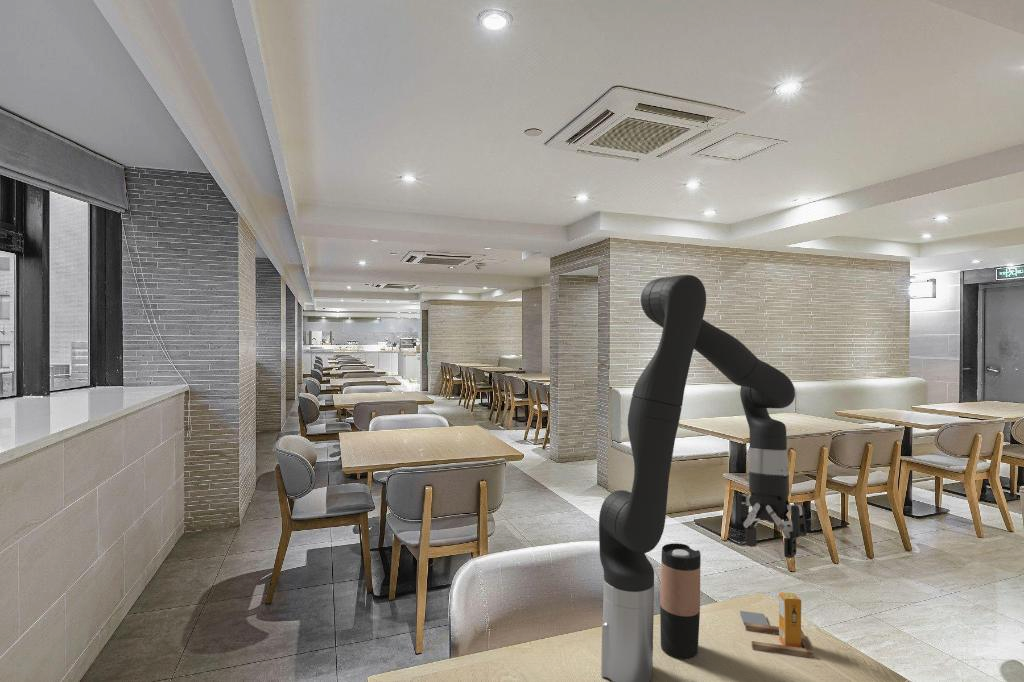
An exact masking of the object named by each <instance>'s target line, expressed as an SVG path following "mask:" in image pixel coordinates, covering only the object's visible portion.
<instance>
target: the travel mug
mask: <svg viewBox="0 0 1024 682" xmlns="http://www.w3.org/2000/svg"><path fill="white" fill-rule="evenodd" d="M660 559H661V560H660V561H661V568H660V592H659V593H660V594H659V595H660V596H659V598H660V599H659V603H660V605H659V606H660V607H659V610H660V611H659V614H660V615H659V618H660V621H659V622H660V624H659V625H660V629H659V630H660V648H661V650H662V651H663V652H664V653H665V655H667V656H669V657H671V658H674V659H678V660H692V659H693V658H695V657H696V656H697V655H698V652H699V651H698V650H699V649H698V648H699V634H700V620H701V619H700V618H701V616H700V615H701V614H700V613H701V561H702V560H701V559H702V558H701V551H700V550H699V549H697V550H695V549H692V548H691V547H690V546H689V545H687V544H685V543H675V542H674V543H667V544H664V545H663V546H662V548H661V558H660Z"/></svg>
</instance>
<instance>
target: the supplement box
mask: <svg viewBox="0 0 1024 682" xmlns="http://www.w3.org/2000/svg"><path fill="white" fill-rule="evenodd" d="M778 627H779V634H778V636H779V637H778V638H779V639H778V640H779V642H781V645H784V646H792V647H799V648H802V646H801V630H802V599H801V598H800V597H798V595H797V594H795V593H794V592H778Z"/></svg>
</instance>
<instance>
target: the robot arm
mask: <svg viewBox="0 0 1024 682" xmlns="http://www.w3.org/2000/svg"><path fill="white" fill-rule="evenodd" d="M640 303H641V308H642V311H643V312H644V315H645V316H646V317H647V318H648V319H650V321H652V322H653V323H655V324H656V325H658V326H660V327H661V328H662V332H661V337H660V339H659V343H658V346H657V348H656V350H655V353H654V354H653V356H652V357H651V359H650V361H649V362H648V364H647V365H646V367H645V368H644V370H642V372H641V374H640V375H639V377H638V379H637V381H636V383H635V384H634V387H633V391H632V395H631V398H630V404H629V409H628V414H627V431H628V437H629V443H630V447H631V454H632V458H633V465H634V468H633V469H634V472H633V474H634V475H633V481H632V487H631V491H628V490H622V489H621V490H620V489H619V490H615V491H612V492H611V493H610V494H609V495H607V496H606V497H605V499H604V501H603V503H602V504H601V507H600V511H599V516H598V539H599V540H598V542H599V543H598V544H599V559H600V563H601V566H602V570H603V600H602V601H603V606H602V607H603V608H602V610H603V611H602V613H603V614H602V623H601V661H600V663H601V664H600V665H601V667H600V675H601V678H607V679H609V680H611V682H650V681H651V680H652V678H653V666H654V665H653V664H654V661H653V660H654V659H653V658H654V611H655V610H654V609H655V607H654V604H655V569H654V567H653V564H652V563H651V562H650V560H649V559H648V557H647V555H646V554H647V553H649V552H652V551H653V550H654V549H655V548H656V547H657V546H658V544H659V543H660V540H661V538H662V536H663V533H664V530H665V524H666V517H667V516H666V515H667V507H668V506H667V505H668V491H669V483H670V472H671V468H672V467H671V466H672V461H673V454H674V448H675V442H676V437H677V432H678V429H679V428H678V427H679V425H680V419H681V414H682V407H683V401H684V397H685V396H684V395H685V388H686V385H687V380H688V375H689V372H690V370H689V369H690V367H691V366H690V365H691V362H692V361H691V360H692V357H693V353H694V350H695V351H696V352H698V353H699V354H700V355H701V356H702V357H704V358H705V359H706V360H707V361H708V362H709V363H711V365H713V366H714V367H715V368H716V369H717V370H718V371H719V372H720V373H722V374H723V375H724V376H725V377H726V378H727V379H728V380H729V381H731V382H732V384H735V385H737V386H739V387H740V392H739V395H740V402H741V404H742V408H743V411H744V415H745V418H746V422H747V425H748V428H749V429H748V430H749V452H748V491H749V492H750V495H749V494H747V493H744V494H743V493H742V494H738V495H737V496H736V517H735V518H736V519H735V520H736V522H737V523H738V524H741V525H742V526H743V527H744V534H745V535H744V537H745V539H744V540H745V543H746V545H747V547H750V548H752V547H753V548H754V547H756V546H757V544H758V543H757V527H756V526H757V525H758V524H759V522H760V521H767V522H769V523H773V524H774V523H775V525H776V526H777V527H778V529H780V531H781V532H782V534H783V535H784V538H783V546H784V547H783V549H784V550H783V551H784V554H783V555H784V557H785V558H787V559H792V558H794V557H795V556H796V555H797V539H798V538H802V537H807V523H806V512H805V511H806V510H805V506H804V505H803V504H790V502H789V495H790V474H789V471H790V468H789V464H790V463H789V456H788V441H787V440H788V439H787V427H786V424H785V423H784V422H783V421H780V420H777V419H773V418H772V417H771V416H770V414H769V411H768V409H784V408H787V407H789V406H790V405H791V404H792V403H793V402H794V400H795V399H796V389H795V386H794V383H793V382H792V380H791V379H790V378H789V377H788V376H787V375H786V373H784V372H782V370H779V369H778V368H777V367H773V366H772V365H770V364H769V363H767V362H765V361H763V360H760V359H759V358H758V357H757V356H756V355H755V354H754V353H753V352H752V351H751V350H750V349H749V348H748V347H747V346H746V345H745V344H744V343H743V342H741V341H740V340H739V339H738V338H736V337H735V336H734V335H731V334H730V333H728V332H725V331H724V330H722V329H720V328H719V327H717V326H715V325H713V324H711V323H710V322H709V321H706V320H705V319H703V318H704V315H705V312H706V307H707V293H706V287H705V285H704V284H703V282H702V281H701V279H700V278H698V277H697V276H695V275H692V274H680V275H673V276H665V277H664V276H663V277H660V278H659V277H658V278H655V279H653V280H650V282H648V283H647V284H645V286H644V288H643V289H642V292H641V295H640ZM750 506H751V508H752V509H751V510H750ZM788 513H789V515H791V517H790V516H789V515H788Z"/></svg>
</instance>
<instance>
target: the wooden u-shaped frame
mask: <svg viewBox="0 0 1024 682" xmlns="http://www.w3.org/2000/svg"><path fill="white" fill-rule="evenodd" d="M744 628H745V630H746V631H752V632H757V631H758V633H765V632H767V633H766V634H773V633H775V634H773V635H779V626H777V625H769V626H768V625H761V624H753V623H746V622H745V625H744ZM806 637H807V636H806V635H805V634H804V632H803V630H802V629H801V648H799V647H792V646H784V645H783V644H775V643H770V642H769V643H768V642H761V641H754V640H751V648H752V650H756V651H763V652H768V653H769V652H771V653H777V654H784V655H792V656H796V657H797V656H799V657H804V658H805V657H806V658H810V659H811V658H815V652H814V650H813V649H812V647H811V644H810V643H809V640H808V639H807V638H806Z"/></svg>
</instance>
